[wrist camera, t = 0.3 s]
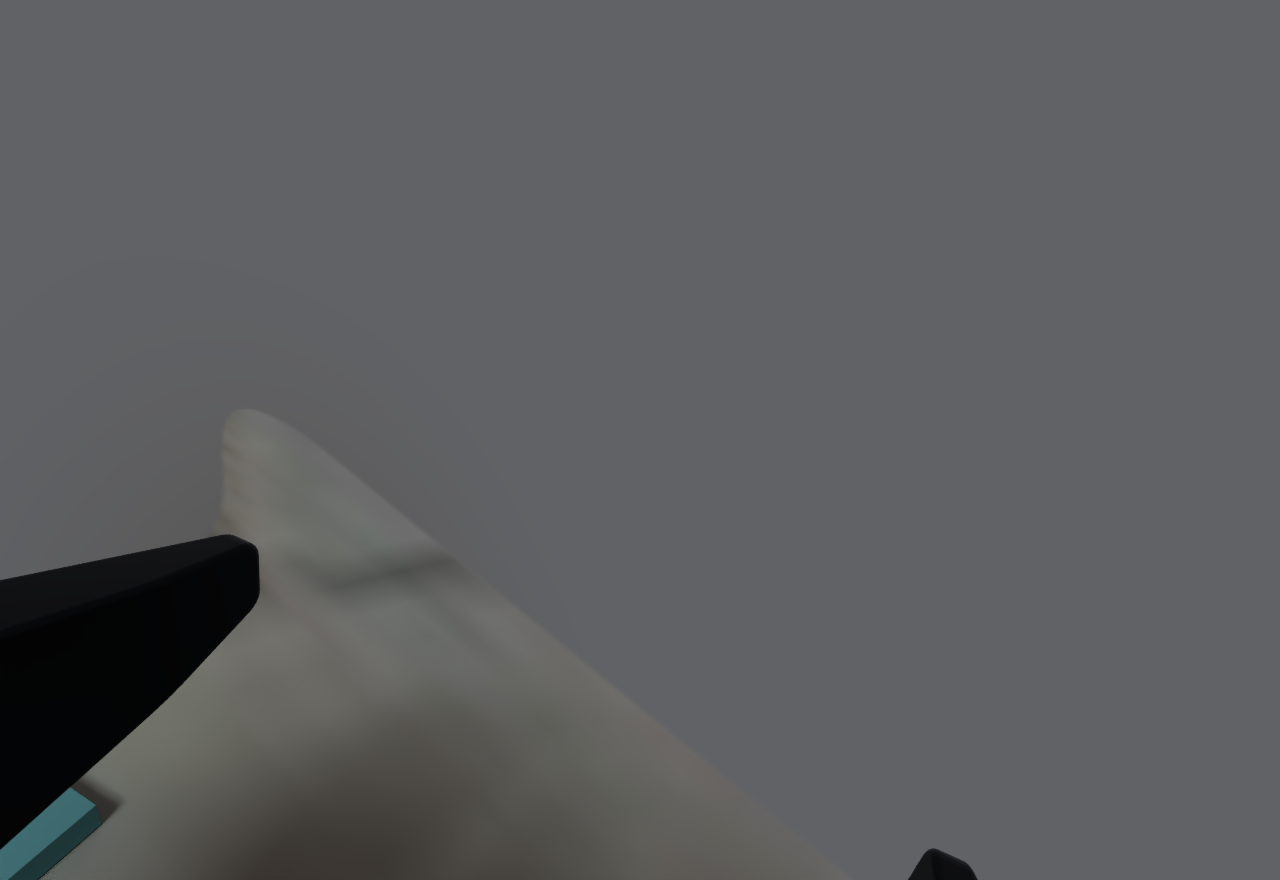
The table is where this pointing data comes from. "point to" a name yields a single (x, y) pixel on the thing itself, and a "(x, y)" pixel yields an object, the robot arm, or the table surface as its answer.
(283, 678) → the table surface
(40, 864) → the pad
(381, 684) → the table surface
